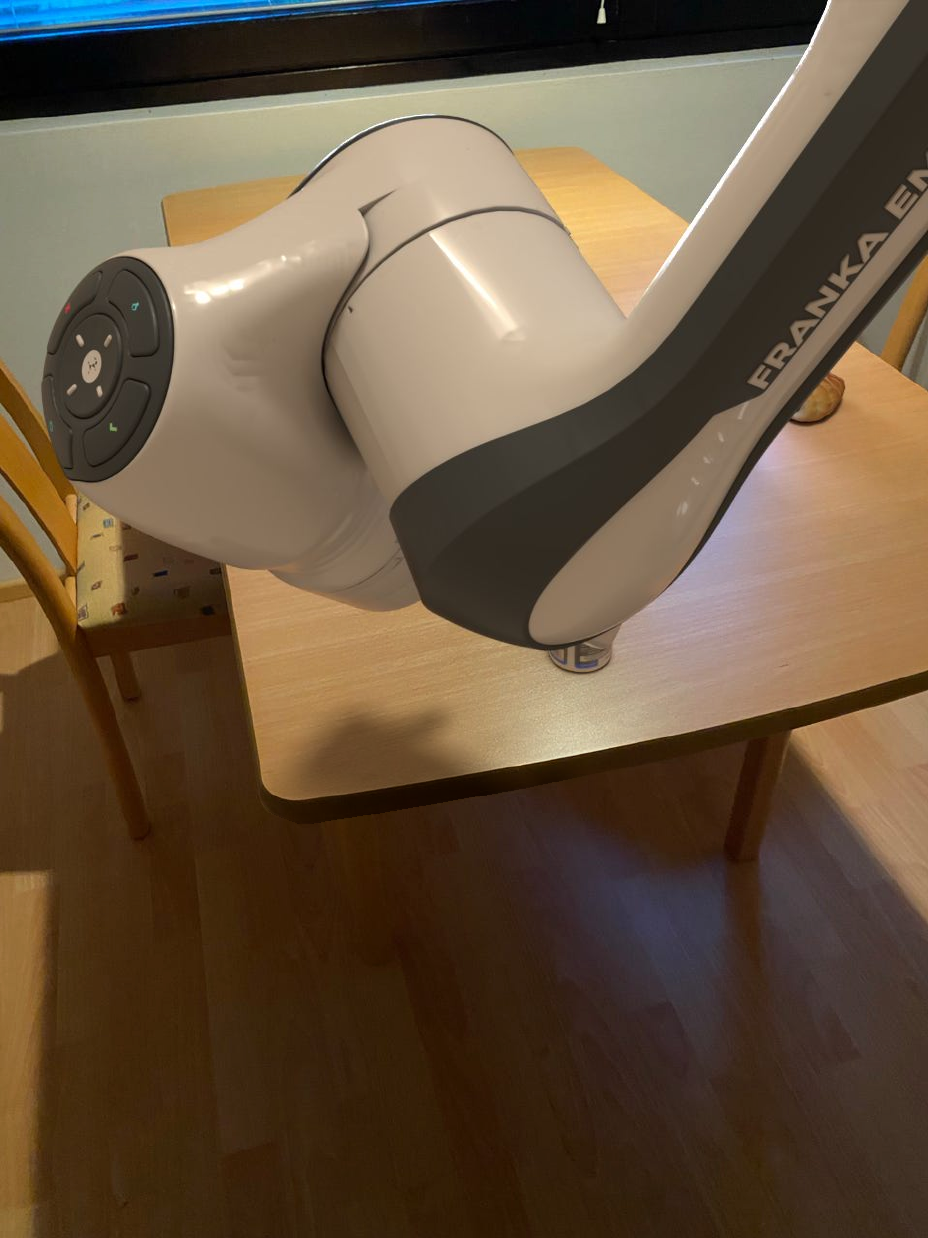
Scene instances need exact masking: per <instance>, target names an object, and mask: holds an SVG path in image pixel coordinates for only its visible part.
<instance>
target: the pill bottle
mask: <svg viewBox="0 0 928 1238" xmlns="http://www.w3.org/2000/svg"><path fill="white" fill-rule="evenodd" d="M612 651H613V643H612V644H611V645H610V646H609V647H607V648H605V649H598V648H594V647H590V646H588V645H585V644H583V643H582V644H579V645H576V646H573V647H569V648H565V649H560V650H554V651H548V654H549V657H550V659H551V660H552V661H553V663H554V664H555V665H557V666H558V667H560V668H562V669H564V670H566V671H571V672H577V673H588V672H593V671H596V670H598V669H601V668H603V667H604V666H605V665H606V664H607V663H608V662H609V660H610V659H611V656H612Z"/></svg>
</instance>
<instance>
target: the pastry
mask: <svg viewBox="0 0 928 1238" xmlns="http://www.w3.org/2000/svg"><path fill="white" fill-rule="evenodd" d="M845 390H846V384H845V380H844V379H843V378H842V377H840V376H837V374H834V373H832V372H831V371H830V372H829V373H828V375H827V376H826V377H825V378H824V379H823V381H822V382H821V383H820V384H819V385H818V387H817V388H816V389H815V390H814V391H813V393H812V394H811V395H810V396H809V397H808V399H807V400H806V401H805V402H804V403H803V405H802V406H801V407H800V408H799V409H798V411H797V412H796V413H795V414H794V416H793V417H792V418H791V419H790V420H794V421H796V422H808V423H812V422H817V421H820V420H822V419H823V418H824V417H826V416H829V415H830V414H832V413H833V411H834V410H835V409H836V408H837V406H838V405H839V403H840V402H841V400H842V399H843V397H844V393H845Z"/></svg>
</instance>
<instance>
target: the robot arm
mask: <svg viewBox="0 0 928 1238" xmlns="http://www.w3.org/2000/svg"><path fill="white" fill-rule="evenodd" d="M571 235H572V233H571V231H570V230H569V228H568V227H567V226H565V223H563V221H562V219H561V218H560V217H559V215H558V213H557V212H556V211H555V209H554V208H553V206H552V205H551V203H550V202H549V200H548V199H547V198H546V196H545V195H544V194H543V192H542V191H541V189H540V187H538V185H537V183H535V181H534V180H533V178H532V177H531V176H530V175H529V173H528V172H527V170H526V169H525V168H524V167H523V165H522V164H521V163H520V161H519V160H518V158H517V157H516V156H515V154H514V152H513V150H512V149H511V148H510V146H509V145H508V143H507V142H506V141H505V140H504V139H503V138H502V137H501V136H500V135H499V134H497V133H496V132H495V131H493V130H492V129H490V128H489V127H486V126H485V125H483V124H481V123H479V122H477V121H473V120H470V119H468V118H464V117H460V116H454V115H447V114H446V115H444V114H416V115H409V116H404V117H398V118H394V119H390V120H386V121H383V122H380V123H378V124H376V125H375V124H374V125H372V126H370V127H368V128H366V129H364V130H362V131H360V132H358V133H356V134H355V135H353V136H352V137H350V138H348V139H346V140H345V141H343V142H342V143H341V144H339V146H337V147H336V148H334V150H332V151H331V152H330V153H328V154H327V155H326V156H325V157H324V158H323V159H322V160H320V162H319V163H318V164H317V165H316V166H315V167H314V168H313V169H311V171H310V172H309V173H308V174H307V175H306V176H305V177H304V178H303V180H302V181H301V182H300V183H299V184H298V185H297V186H296V187H295V188H294V189H293V190H292V192H291V193H290V194H289V195H288V196H287V197H286V198H285V199H284V200H283V201H281V202H279V203H278V204H276V205H275V206H273V207H271V208H270V209H268V210H266V211H264V212H262V213H260V214H259V215H257V216H255V217H253V218H252V219H249V220H247V221H246V222H244V223H242V224H240V225H237V226H236V227H234V228H231V229H230V230H228V231H226V232H223V233H221V234H219V235H216V236H213V237H211V238H208V239H205V240H201V241H197V242H194V243H189V244H183V245H174V246H173V245H172V246H161V247H160V246H159V247H141V248H133V249H129V250H125V251H122V252H119V253H116V254H114V255H111V256H110V257H108V258H107V259H105V260H103V261H102V262H100V263H99V264H97V265H96V266H95V267H93V268H92V269H91V270H89V272H88V273H87V274H85V276H84V277H82V279H81V281H80V282H78V284H77V285H76V286H75V288H74V289H73V291H72V292H71V293H70V295H69V297H67V300H66V301H65V303H64V305H63V306H62V308H61V310H60V312H59V313H58V316H57V318H56V320H55V323H54V325H53V327H52V329H51V332H50V335H49V338H48V341H47V345H46V355H45V358H44V365H43V371H42V380H41V382H40V393H41V404H42V412H43V418H44V422H45V425H46V430H47V434H48V437H49V440H50V443H51V446H52V448H53V451H54V454H55V457H56V459H57V462H58V464H59V467H60V470H61V471H62V473H63V475H64V477H65V478H66V479H67V481H68V482H69V483H70V484H71V485H72V486H73V487H74V488H75V489H76V490H77V491H78V492H79V493H81V494H82V495H83V496H84V497H85V498H86V499H87V500H89V501H90V502H91V503H92V504H93V505H95V506H96V507H98V508H100V509H101V510H103V511H104V512H106V513H107V514H109V515H110V516H111V517H114V518H115V519H117V520H118V521H120V522H122V523H124V524H126V525H128V526H130V527H132V528H133V529H136V530H138V531H139V532H141V533H143V534H145V535H147V536H149V537H152V538H154V539H157V540H158V541H161V542H163V543H165V544H168V545H170V546H173V547H175V548H178V549H181V550H183V551H186V552H188V553H191V554H194V555H196V556H200V557H203V558H205V559H208V560H211V561H213V562H217V563H220V564H223V565H226V566H229V567H233V568H237V569H240V570H241V569H242V570H247V571H268V572H269V573H271V575H273V576H274V577H275V578H277V579H278V580H280V581H281V582H284V583H285V584H287V585H288V586H291V587H293V588H295V589H299V590H301V591H305V592H308V593H311V594H314V595H316V596H320V597H322V598H326V599H329V600H332V601H335V602H337V603H341V604H343V605H346V606H350V607H352V608H355V609H358V610H362V611H368V612H372V613H373V612H374V613H385V612H393V611H398V610H402V609H405V608H408V607H410V606H412V605H415V604H416V603H419V602H420V601H421V603H422V605H423V606H424V608H425V609H426V610H427V611H429V612H431V613H432V614H434V615H436V616H438V617H440V618H442V619H444V620H446V621H448V622H450V623H452V624H454V625H455V626H457V627H460V628H462V629H465V630H467V631H469V632H471V633H474V634H477V635H480V636H482V637H485V638H488V639H490V640H493V641H496V642H500V643H504V644H508V645H510V646H514V647H515V646H516V647H521V648H525V649H531V650H536V651H544V652H549V651H554V650H560V649H565V648H569V647H573V646H576V645H579V644H582V643H583V644H585V645H588V646H590V647H594V648H598V649H605V648H607V647H609V646H610V645H611V644H612V645H613V642H614V641H615V639H616V637H617V635H618V633H619V631H620V629H621V627H622V624H624V622H626V621H628V620H630V619H631V618H633V617H634V616H635V615H637V614H638V613H640V612H641V611H642V610H644V609H645V608H646V607H648V606H649V605H650V604H651V603H653V602H654V601H655V600H657V598H659V597H660V596H661V595H662V594H663V593H664V592H665V591H666V590H667V589H668V588H669V587H671V586H672V585H673V584H674V583H675V582H676V581H677V580H678V579H679V578H680V577H681V576H682V574H683V573H684V572H685V571H686V570H687V569H688V567H690V565H691V564H692V563H693V562H694V560H695V559H697V557H698V555H699V554H700V552H702V550H703V549H704V547H705V546H706V544H707V543H708V541H709V540H710V539H711V537H712V535H713V534H714V532H715V531H716V529H717V528H718V526H719V524H720V523H721V521H722V519H724V516H725V514H726V513H727V511H728V510H729V508H730V506H731V505H732V503H733V502H734V500H735V498H736V497H737V495H738V494H739V492H740V490H741V489H742V487H743V485H744V484H745V482H746V480H747V479H748V478H749V476H750V474H751V473H752V471H753V470H754V469H755V467H756V466H757V464H758V462H759V461H760V460H761V458H762V457H763V456H764V454H765V452H766V451H767V450H768V449H769V448H770V446H771V445H772V443H773V442H774V441H775V439H776V438H777V437H778V436H779V434H780V433H781V432H782V431H783V429H784V428H785V427H786V426H787V424H788V423H789V422H790V421H791V420H792V419H791V418H792V417H793V416H794V414H795V413H796V412H797V411H798V409H799V408H800V407H801V406H802V405H803V403H804V402H805V401H806V400H807V399H808V397H809V396H810V395H811V394H812V393H813V391H814V390H815V389H816V388H817V387H818V385H819V384H820V383H821V382H822V381H823V379H824V378H825V377H826V376H827V375H828V373H829V372H830V373H831V371H832V370H833V369H834V368H835V366H836V365H837V364H838V363H839V361H840V360H841V359H842V358H843V357H844V356H845V354H846V353H848V351H849V350H850V348H851V347H852V346H853V345H854V343H855V342H856V341H857V340H858V338H860V336H861V335H862V334H863V333H864V332H865V330H866V329H867V328H868V327H869V325H870V324H871V323H872V322H873V320H874V319H875V318H876V317H877V316H878V315H879V313H880V312H881V311H882V309H883V308H884V307H885V306H886V305H887V303H888V302H889V301H890V300H891V299H892V298H893V297H894V295H895V294H896V293H897V292H898V291H899V290H900V288H901V287H902V286H903V285H904V283H905V282H906V281H907V279H909V277H910V276H911V275H912V274H913V272H914V271H915V270H916V269H917V267H919V265H920V264H921V262H922V261H923V260H924V259H925V258H926V257H927V256H928V0H827V3H826V6H825V10H824V11H823V13H822V15H821V18H820V20H819V22H818V24H817V27H816V29H815V31H814V34H813V35H812V37H811V40H810V43H809V44H808V46H807V48H806V50H805V52H804V54H803V55H802V57H801V58H800V61H799V62H798V64H797V65H796V67H795V69H794V70H793V72H792V74H791V75H790V77H789V78H788V80H786V83H785V84H784V86H783V87H782V89H781V90H780V92H779V93H778V94H777V96H776V98H775V99H774V100H773V102H772V104H771V105H770V107H769V108H768V110H767V111H766V112H765V114H764V115H763V117H762V118H761V120H760V121H759V123H758V124H757V125H756V127H755V129H754V130H753V132H752V133H751V134H750V136H749V138H748V139H747V141H746V142H745V143H744V145H743V147H742V148H741V150H740V151H739V153H738V154H737V155H736V157H735V158H734V159H733V161H732V163H731V164H730V165H729V167H728V169H727V170H726V172H724V174H723V176H722V177H721V179H720V180H719V182H718V183H717V185H716V186H715V188H713V191H712V192H711V194H710V195H709V196H708V199H707V200H706V201H705V203H703V205H702V207H701V208H700V210H699V212H698V213H697V214H696V216H695V217H694V219H693V220H692V222H691V223H690V225H689V226H688V227H687V229H686V231H685V232H684V234H683V236H682V237H681V238H680V240H679V241H678V242H677V244H676V246H675V247H674V248H673V250H672V251H671V253H670V254H669V256H668V257H667V258H666V260H665V262H664V263H663V265H662V266H661V268H660V269H659V271H658V272H657V274H656V275H655V276H654V278H653V279H652V281H651V282H650V284H649V285H648V287H647V288H646V290H645V292H644V293H643V295H642V296H641V298H640V299H639V300H638V302H637V303H636V304H635V306H634V307H633V309H632V311H631V312H630V313H629V315H627V316H626V315H625V313H624V311H623V310H622V308H620V306H619V304H618V303H617V302H616V301H615V299H614V297H613V296H612V295H611V293H610V292H609V291H608V290H607V287H606V286H605V285H604V283H603V282H602V281H601V279H600V278H599V276H598V275H597V273H596V272H595V271H594V269H593V268H592V266H591V265H590V263H588V261H587V259H586V257H584V255H583V254H582V253H581V251H580V248H579V246H578V244H577V243H576V242H575V240H574V239H573V237H572V236H571Z"/></svg>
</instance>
